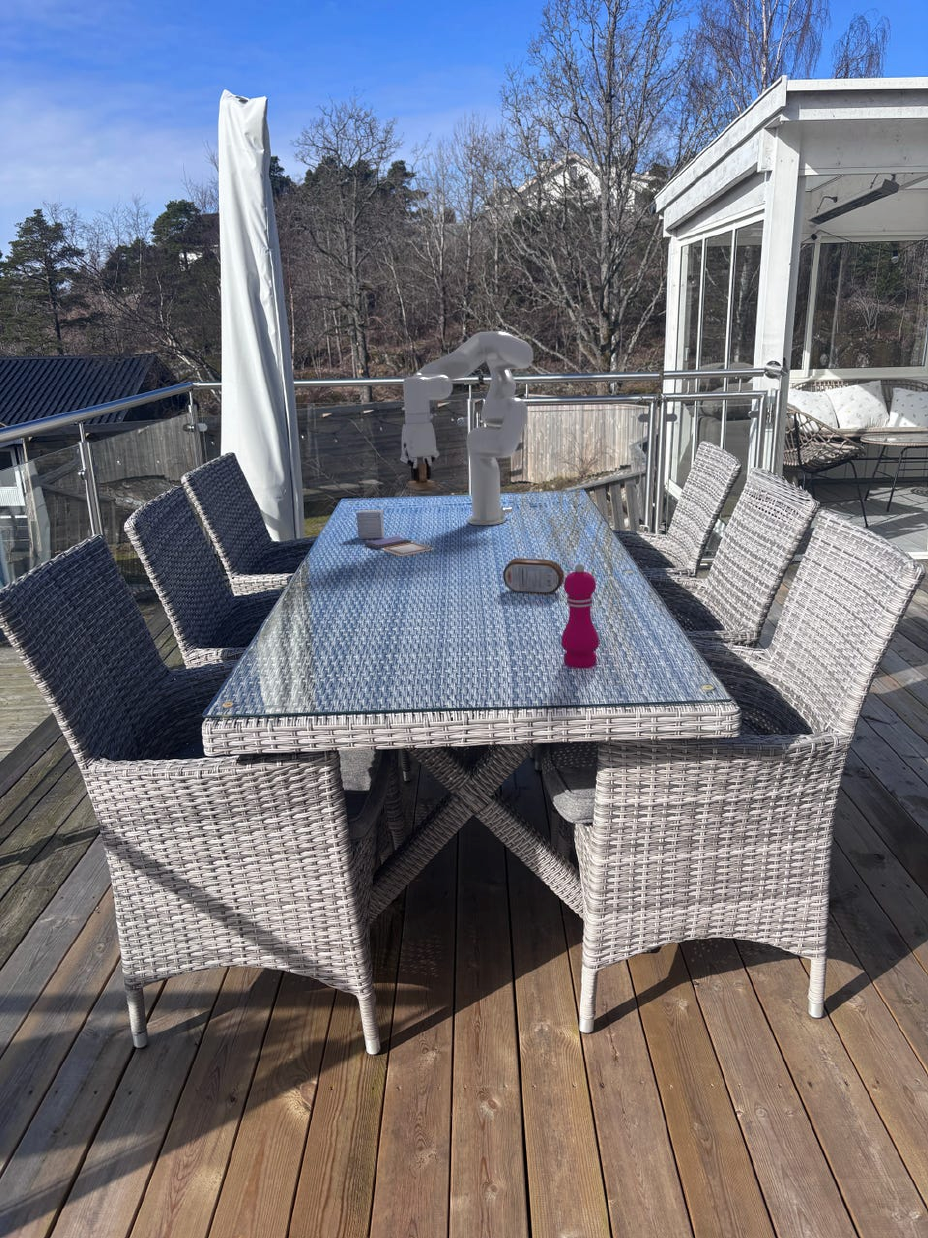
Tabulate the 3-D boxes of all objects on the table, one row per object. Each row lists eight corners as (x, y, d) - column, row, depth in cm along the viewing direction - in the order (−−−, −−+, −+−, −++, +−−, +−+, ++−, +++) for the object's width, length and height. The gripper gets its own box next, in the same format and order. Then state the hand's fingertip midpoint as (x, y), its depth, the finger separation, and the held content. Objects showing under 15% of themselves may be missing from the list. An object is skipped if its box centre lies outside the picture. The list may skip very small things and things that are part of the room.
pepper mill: (558, 657, 177) (557, 560, 171) (594, 655, 177) (594, 557, 171) (565, 671, 170) (564, 569, 164) (602, 668, 171) (603, 567, 164)
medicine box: (385, 535, 289) (383, 509, 286) (382, 538, 285) (380, 512, 282) (361, 536, 290) (358, 509, 287) (358, 539, 286) (356, 512, 283)
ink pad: (398, 539, 283) (398, 535, 283) (411, 543, 277) (410, 539, 277) (364, 545, 277) (364, 541, 277) (377, 549, 271) (376, 545, 270)
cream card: (414, 542, 277) (414, 541, 277) (435, 549, 268) (435, 547, 267) (380, 549, 271) (380, 547, 271) (400, 556, 261) (400, 554, 261)
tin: (564, 592, 220) (564, 559, 217) (561, 596, 217) (561, 562, 214) (505, 589, 225) (504, 556, 222) (502, 592, 222) (501, 560, 219)
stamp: (425, 486, 279) (423, 461, 277) (435, 489, 275) (434, 463, 272) (408, 489, 276) (407, 463, 274) (418, 491, 271) (417, 465, 269)
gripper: (434, 415, 276) (437, 475, 282) (387, 420, 267) (392, 482, 273) (447, 417, 270) (450, 477, 276) (400, 422, 261) (404, 484, 267)
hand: (421, 479), depth 274 cm, fingers closed on stamp, 3 cm apart
